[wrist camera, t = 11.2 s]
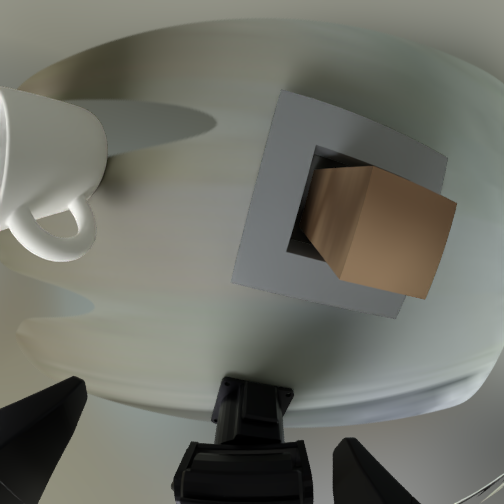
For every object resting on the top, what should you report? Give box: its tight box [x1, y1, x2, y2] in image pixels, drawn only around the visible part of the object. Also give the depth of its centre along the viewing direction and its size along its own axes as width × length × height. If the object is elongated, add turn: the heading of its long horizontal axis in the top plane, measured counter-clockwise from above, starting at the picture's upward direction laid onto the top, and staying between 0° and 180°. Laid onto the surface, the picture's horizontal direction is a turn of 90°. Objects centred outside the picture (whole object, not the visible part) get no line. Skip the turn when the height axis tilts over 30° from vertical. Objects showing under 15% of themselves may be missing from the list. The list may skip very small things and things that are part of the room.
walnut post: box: [299, 166, 457, 299], centre depth 14 cm, size 4×4×10 cm
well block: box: [231, 89, 448, 319], centre depth 16 cm, size 11×11×4 cm
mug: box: [0, 86, 108, 262], centre depth 13 cm, size 12×8×10 cm
